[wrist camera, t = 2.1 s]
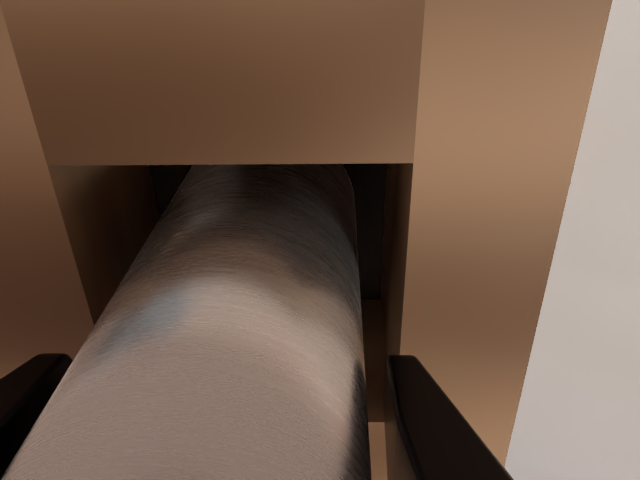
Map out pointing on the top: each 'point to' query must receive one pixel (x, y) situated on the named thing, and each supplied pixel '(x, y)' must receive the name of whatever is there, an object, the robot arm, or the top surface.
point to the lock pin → (223, 343)
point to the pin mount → (304, 159)
